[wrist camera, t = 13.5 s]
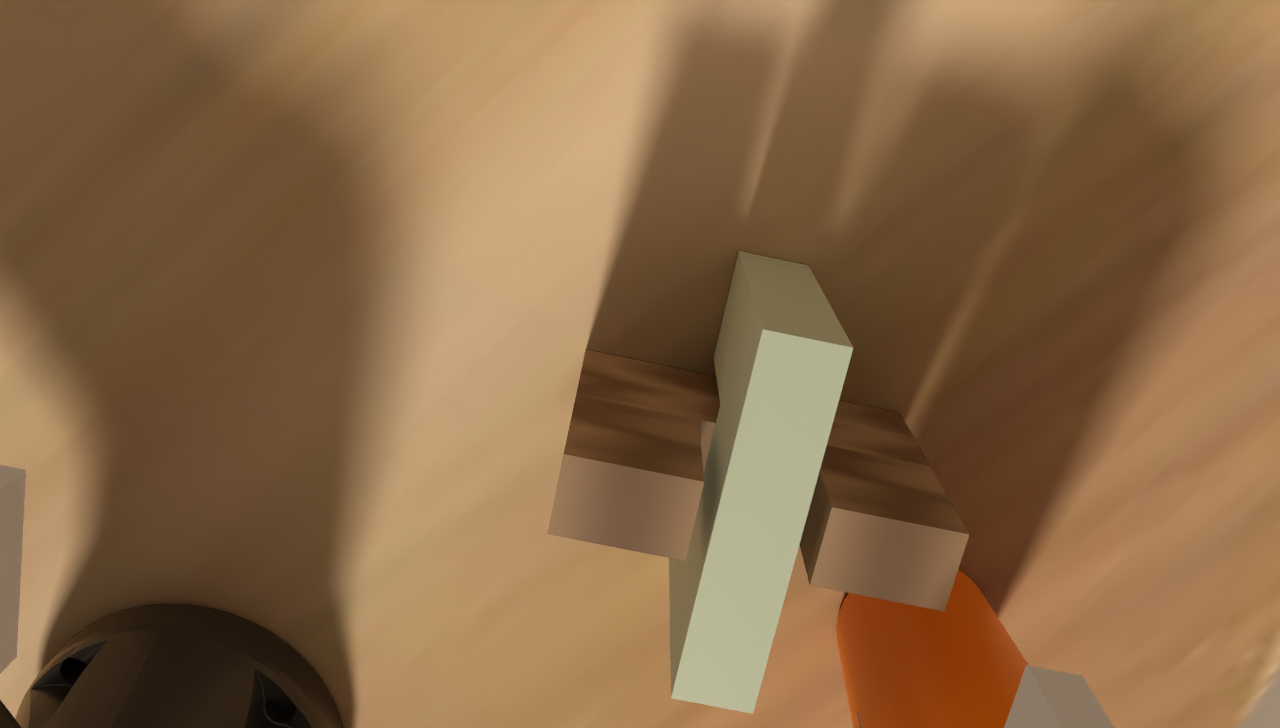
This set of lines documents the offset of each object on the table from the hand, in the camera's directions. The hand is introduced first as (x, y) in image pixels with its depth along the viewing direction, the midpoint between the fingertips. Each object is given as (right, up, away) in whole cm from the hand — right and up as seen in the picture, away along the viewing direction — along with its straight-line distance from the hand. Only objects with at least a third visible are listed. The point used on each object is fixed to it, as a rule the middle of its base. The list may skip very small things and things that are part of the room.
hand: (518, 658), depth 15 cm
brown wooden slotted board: (+6, +2, +36) cm, 36 cm away
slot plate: (+6, +2, +36) cm, 36 cm away
